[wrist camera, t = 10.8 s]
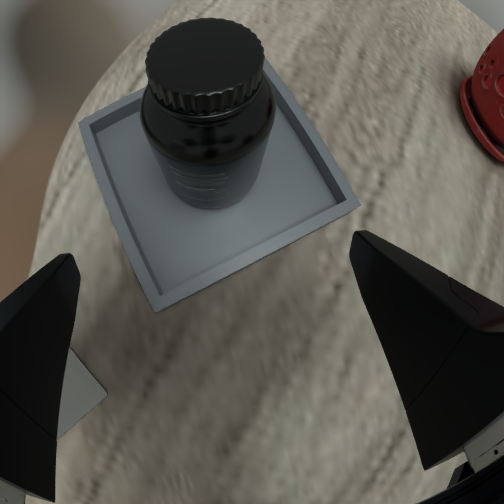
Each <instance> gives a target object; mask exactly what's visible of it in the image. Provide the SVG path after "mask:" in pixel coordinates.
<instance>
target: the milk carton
mask: <svg viewBox="0 0 504 504" xmlns="http://www.w3.org/2000/svg"><path fill="white" fill-rule="evenodd" d="M106 396H107V392H106V391H105V390H104V389H103V388H102V386H101V385H100V384H99V383H98V382H97V381H96V379H95V378H94V377H93V376H92V375H91V373H90V372H89V371H88V370H87V369H86V367H85V366H84V365H83V364H82V362H81V361H80V360H79V359H78V357H77V356H76V355H75V354H74V352H73V351H72V350H71V348H70V347H69V351H68V357H67V362H66V368H65V374H64V381H63V388H62V395H61V403H60V411H59V421H58V432H57V440H58V439H59V438H60V437H61V436H63V435H64V434H65V433H66V432H67V431H68V430H69V429H70V428H72V427H73V426H74V425H75V424H76V423H77V422H78V421H79V420H81V419H82V418H83V417H84V416H85V415H86V414H87V413H88V412H89V411H91V410H92V409H93V408H94V407H95V406H96V405H97V404H98V403H99V402H101V401H102V400H103V399H104V398H105V397H106Z"/></svg>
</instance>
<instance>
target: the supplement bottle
mask: <svg viewBox="0 0 504 504" xmlns="http://www.w3.org/2000/svg"><path fill="white" fill-rule="evenodd" d="M264 60H265V56H264V48H263V47H262V45H261V41H260V40H259V39H258V38H257V36H256V34H255V33H253V32H251V30H250V29H249V28H246V27H244V26H243V25H242V24H238V23H235V22H234V21H230V20H225V19H216V18H199V19H194V20H189V21H187V22H182V23H179V24H178V25H176V26H172V27H171V28H170V29H168V30H166V31H164V32H163V33H162V34H161V35H160V36H159V37H157V38H156V39H155V42H154V43H152V44H151V45H150V49H149V51H148V52H147V58H146V60H145V64H146V74H147V77H148V84H147V86H146V88H145V90H144V92H143V95H142V98H141V102H140V121H141V125H142V128H143V131H144V134H145V135H146V138H147V140H148V142H149V145H150V147H151V149H152V151H153V153H154V155H155V158H156V160H157V162H158V164H159V166H160V168H161V170H162V172H163V174H164V177H165V179H166V181H167V182H168V184H169V186H170V188H171V189H172V190H173V192H174V193H175V194H176V195H177V196H178V197H179V198H180V199H182V200H183V201H185V202H187V203H188V204H191V205H193V206H196V207H200V208H210V209H212V208H221V207H225V206H228V205H231V204H233V203H235V202H237V201H238V200H240V199H241V198H243V197H244V196H245V195H246V194H247V193H248V192H249V191H250V189H251V188H252V187H253V185H254V183H255V181H256V179H257V177H258V174H259V171H260V168H261V164H262V161H263V157H264V154H265V150H266V147H267V144H268V140H269V137H270V133H271V130H272V126H273V123H274V119H275V114H276V98H275V93H274V90H273V87H272V85H271V83H270V81H269V79H268V78H267V77H266V75H265V74H264V73H263V66H264Z"/></svg>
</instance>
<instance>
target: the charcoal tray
mask: <svg viewBox="0 0 504 504" xmlns="http://www.w3.org/2000/svg"><path fill="white" fill-rule="evenodd" d="M263 73H264V74H265V75H266V77H267V78H268V79H269V81H270V83H271V85H272V87H273V90H274V93H275V98H276V114H275V119H274V123H273V126H272V130H271V133H270V137H269V140H268V144H267V147H266V150H265V154H264V157H263V161H262V164H261V168H260V171H259V174H258V177H257V179H256V181H255V183H254V185H253V187H252V188H251V189H250V191H249V192H248V193H247V194H246V195H245V196H244V197H243V198H241V199H240V200H238V201H237V202H235V203H233V204H231V205H228V206H225V207H221V208H212V209H210V208H200V207H196V206H193V205H191V204H188V203H187V202H185V201H183V200H182V199H180V198H179V197H178V196H177V195H176V194H175V193H174V192H173V190H172V189H171V188H170V186H169V184H168V182H167V181H166V179H165V177H164V174H163V172H162V170H161V168H160V166H159V164H158V162H157V160H156V158H155V155H154V153H153V151H152V149H151V147H150V145H149V142H148V140H147V138H146V135H145V134H144V131H143V128H142V125H141V121H140V102H141V98H142V95H143V92H144V90H145V88H146V87H145V88H143V89H141V90H138V91H136V92H134V93H132V94H130V95H128V96H126V97H124V98H122V99H120V100H118V101H116V102H114V103H112V104H110V105H108V106H107V107H105V108H103V109H101V110H99V111H97V112H95V113H94V114H92V115H90V116H88V117H87V118H85V119H83V120H81V121H80V122H78V124H79V128H80V131H81V134H82V137H83V140H84V144H85V147H86V150H87V153H88V156H89V159H90V162H91V165H92V167H93V170H94V173H95V176H96V179H97V181H98V184H99V187H100V190H101V192H102V195H103V198H104V200H105V203H106V205H107V208H108V210H109V213H110V216H111V218H112V220H113V223H114V225H115V228H116V230H117V233H118V235H119V237H120V240H121V242H122V244H123V247H124V249H125V251H126V254H127V256H128V258H129V260H130V262H131V265H132V267H133V269H134V271H135V273H136V276H137V278H138V280H139V282H140V284H141V286H142V288H143V290H144V292H145V294H146V296H147V299H148V301H149V303H150V305H151V307H152V309H153V311H154V313H156V312H159V311H162V310H164V309H166V308H168V307H170V306H172V305H174V304H176V303H178V302H180V301H182V300H184V299H185V298H187V297H189V296H191V295H193V294H195V293H197V292H199V291H201V290H203V289H205V288H207V287H209V286H211V285H213V284H215V283H216V282H218V281H220V280H222V279H224V278H226V277H228V276H230V275H232V274H234V273H236V272H238V271H240V270H242V269H243V268H245V267H247V266H249V265H251V264H253V263H255V262H257V261H259V260H261V259H263V258H265V257H266V256H268V255H270V254H272V253H274V252H276V251H278V250H280V249H282V248H284V247H286V246H287V245H289V244H291V243H293V242H295V241H297V240H299V239H301V238H303V237H305V236H306V235H308V234H310V233H312V232H314V231H316V230H318V229H320V228H322V227H323V226H325V225H327V224H329V223H331V222H333V221H335V220H337V219H339V218H340V217H342V216H344V215H346V214H348V213H350V212H351V211H353V210H355V209H356V208H358V207H359V206H361V204H360V203H359V201H358V199H357V197H356V195H355V194H354V192H353V190H352V188H351V187H350V185H349V183H348V181H347V180H346V178H345V176H344V174H343V173H342V171H341V169H340V168H339V166H338V164H337V163H336V161H335V159H334V158H333V156H332V154H331V153H330V151H329V150H328V148H327V146H326V145H325V143H324V142H323V140H322V138H321V137H320V135H319V134H318V132H317V131H316V129H315V128H314V126H313V124H312V123H311V121H310V120H309V118H308V117H307V115H306V114H305V112H304V111H303V109H302V108H301V107H300V105H299V104H298V102H297V101H296V99H295V98H294V96H293V95H292V94H291V92H290V91H289V89H288V88H287V87H286V85H285V84H284V82H283V81H282V80H281V78H280V77H279V76H278V74H277V73H276V72H275V70H274V69H273V67H272V66H271V65H270V64H269V62H268V61H267V60H266V58H265V60H264V66H263Z"/></svg>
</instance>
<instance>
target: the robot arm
mask: <svg viewBox="0 0 504 504" xmlns="http://www.w3.org/2000/svg"><path fill="white" fill-rule="evenodd" d="M349 257H350V261H351V264H352V267H353V270H354V274H355V277H356V280H357V283H358V286H359V290H360V293H361V296H362V299H363V301H364V304H365V306H366V308H367V311H368V313H369V315H370V318H371V320H372V323H373V325H374V328H375V330H376V332H377V335H378V337H379V340H380V342H381V345H382V348H383V350H384V353H385V355H386V358H387V360H388V363H389V366H390V368H391V371H392V374H393V377H394V379H395V382H396V385H397V388H398V390H399V393H400V396H401V399H402V402H403V405H404V408H405V410H406V414H407V417H408V420H409V423H410V426H411V429H412V432H413V436H414V439H415V442H416V445H417V449H418V452H419V455H420V459H421V462H422V465H423V468H424V470H428V469H430V468H432V467H434V466H436V465H438V464H440V463H443V462H445V461H447V460H449V459H451V458H453V457H455V456H456V455H458V454H460V453H462V452H465V455H466V457H467V460H468V461H467V462H465V463H464V464H462V465H460V466H459V467H457V468H456V469H455V470H454V472H453V475H452V477H451V480H450V482H449V485H448V487H447V489H446V490H444V491H442V492H440V493H438V494H436V495H434V496H432V497H430V498H428V499H426V500H423V501H421V502H419V503H417V504H504V307H503V306H501V305H499V304H497V303H496V302H494V301H492V300H490V299H488V298H486V297H485V296H483V295H481V294H479V293H477V292H475V291H474V290H472V289H470V288H468V287H467V286H465V285H463V284H461V283H460V282H458V281H456V280H455V279H453V278H451V277H448V275H446V274H445V273H443V272H441V271H439V270H438V269H436V268H434V267H433V266H431V265H429V264H427V263H426V262H424V261H422V260H420V259H419V258H417V257H415V256H413V255H411V254H410V253H408V252H406V251H404V250H402V249H401V248H399V247H397V246H395V245H393V244H391V243H390V242H388V241H386V240H384V239H382V238H380V237H378V236H377V235H375V234H373V233H371V232H369V231H367V230H361V231H355V232H354V234H353V237H352V242H351V247H350V252H349ZM80 280H81V277H80V272H79V270H78V267H77V265H76V262H75V259H74V257H73V255H72V254H70V253H66V254H60V255H58V256H57V257H56V258H54V259H53V260H52V261H50V262H49V263H48V264H46V265H45V266H44V267H43V268H41V269H40V270H39V271H37V272H36V273H35V274H34V275H32V276H31V277H30V278H29V279H28V280H26V281H25V282H24V283H23V284H22V285H20V286H19V287H18V288H17V289H15V290H14V291H13V292H12V293H11V294H10V295H8V296H7V297H6V298H5V299H4V300H3V301H1V302H0V504H25V498H26V495H30V496H33V497H36V498H39V499H43V500H46V501H50V502H54V503H55V472H56V448H57V432H58V421H59V411H60V403H61V395H62V388H63V381H64V374H65V368H66V362H67V357H68V351H69V346H70V341H71V336H72V332H73V327H74V322H75V316H76V309H77V301H78V294H79V287H80Z"/></svg>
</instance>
